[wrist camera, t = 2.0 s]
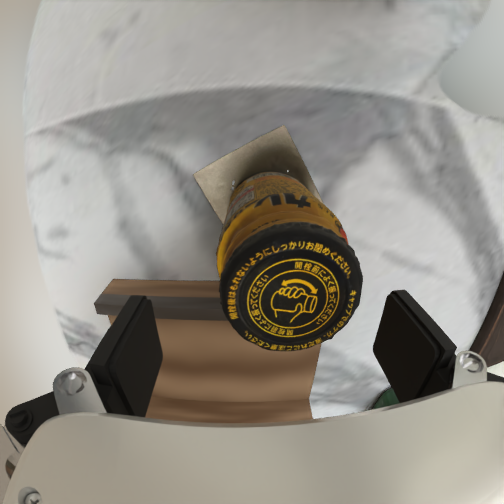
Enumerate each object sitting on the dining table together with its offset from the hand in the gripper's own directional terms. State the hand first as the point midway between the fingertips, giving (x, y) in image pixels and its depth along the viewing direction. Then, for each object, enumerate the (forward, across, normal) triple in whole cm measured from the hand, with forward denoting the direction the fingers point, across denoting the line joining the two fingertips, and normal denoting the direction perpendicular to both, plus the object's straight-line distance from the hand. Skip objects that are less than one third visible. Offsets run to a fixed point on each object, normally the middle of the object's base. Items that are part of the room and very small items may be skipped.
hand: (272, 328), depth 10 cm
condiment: (+12, 0, -3) cm, 12 cm away
